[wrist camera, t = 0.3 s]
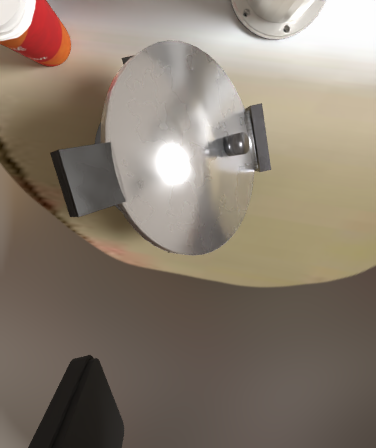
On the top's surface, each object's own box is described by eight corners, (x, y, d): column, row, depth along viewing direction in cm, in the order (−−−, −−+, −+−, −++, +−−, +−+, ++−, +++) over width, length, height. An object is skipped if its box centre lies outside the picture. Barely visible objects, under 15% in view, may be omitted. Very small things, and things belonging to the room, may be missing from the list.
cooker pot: (93, 88, 40) (66, 66, 30) (231, 58, 40) (251, 26, 30) (133, 240, 45) (121, 265, 35) (256, 213, 45) (279, 232, 35)
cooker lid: (9, 28, 16) (29, 1, 14) (230, 55, 31) (255, 44, 29) (98, 311, 21) (123, 321, 19) (255, 218, 35) (279, 218, 33)
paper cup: (5, 34, 38) (-89, -31, 25) (52, -5, 37) (-19, -95, 24) (47, 89, 40) (-19, 56, 26) (92, 52, 39) (49, -1, 25)
